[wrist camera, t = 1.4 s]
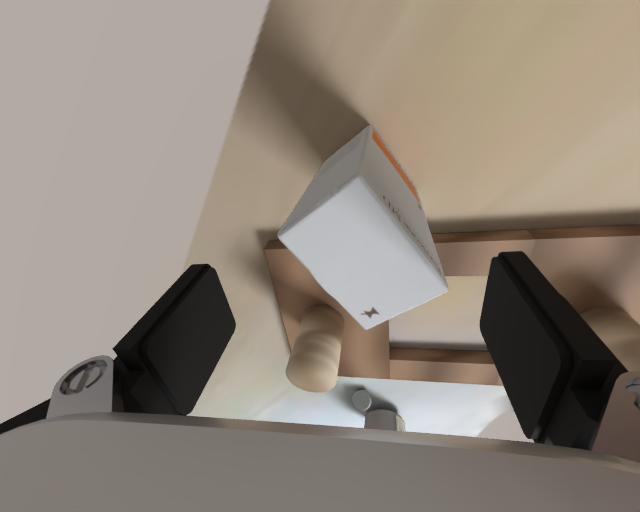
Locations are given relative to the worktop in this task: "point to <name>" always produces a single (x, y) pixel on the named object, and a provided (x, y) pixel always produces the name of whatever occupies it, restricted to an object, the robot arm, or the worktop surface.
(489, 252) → the walnut rail
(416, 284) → the skincare box
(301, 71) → the worktop surface
